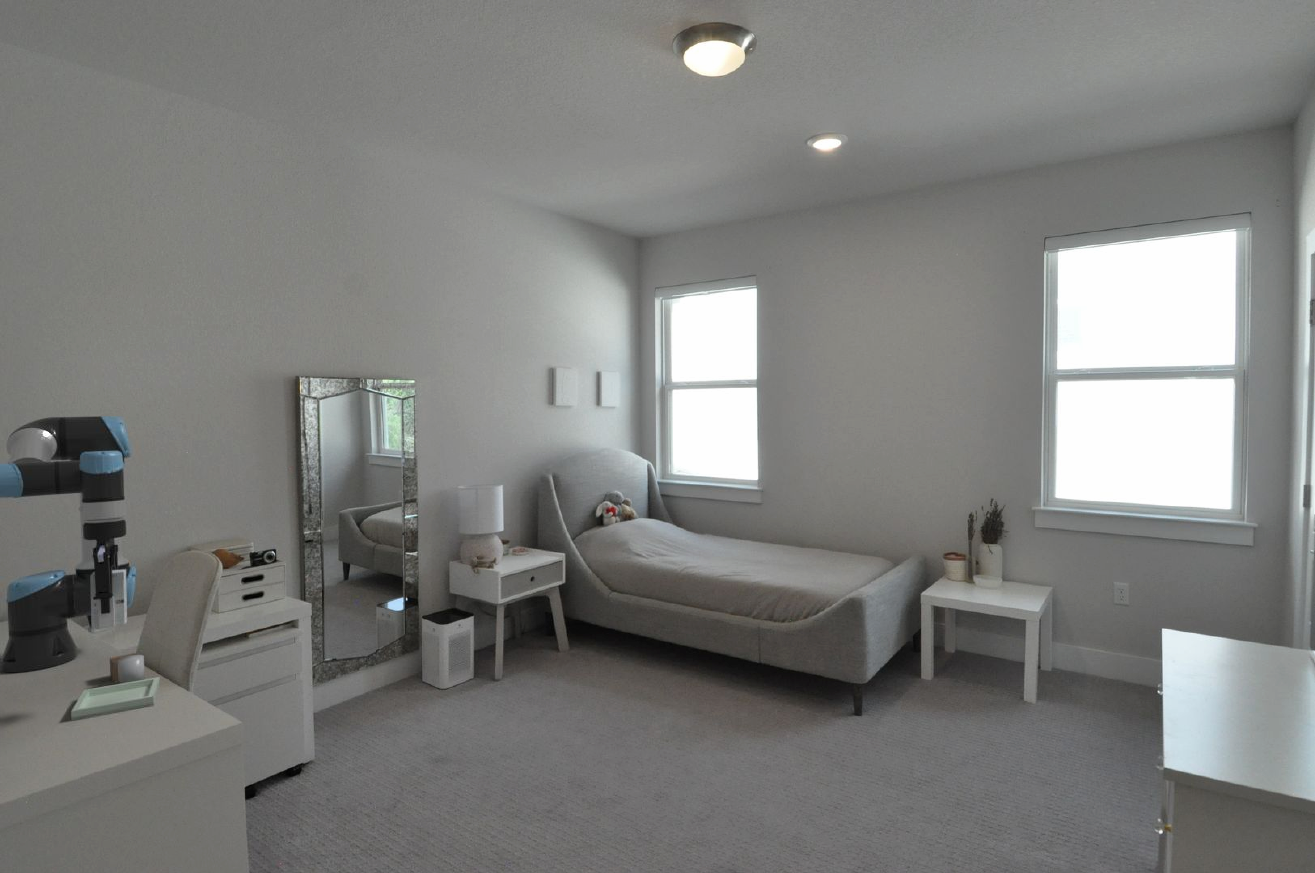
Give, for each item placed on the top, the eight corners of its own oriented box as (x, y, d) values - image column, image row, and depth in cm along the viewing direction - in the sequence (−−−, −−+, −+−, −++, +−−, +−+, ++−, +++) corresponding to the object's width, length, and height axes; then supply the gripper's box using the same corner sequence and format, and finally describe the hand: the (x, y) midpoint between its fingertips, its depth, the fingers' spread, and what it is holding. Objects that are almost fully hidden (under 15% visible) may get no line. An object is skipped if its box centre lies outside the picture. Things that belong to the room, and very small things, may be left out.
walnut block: (110, 677, 172) (109, 657, 172) (135, 672, 176) (134, 652, 175) (114, 682, 169) (113, 662, 168) (139, 677, 172) (138, 656, 172)
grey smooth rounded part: (120, 681, 169) (119, 657, 169) (145, 677, 171) (144, 653, 171) (117, 688, 164) (116, 663, 164) (143, 683, 167) (142, 659, 167)
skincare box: (91, 630, 152) (88, 575, 152) (94, 625, 156) (91, 571, 156) (126, 625, 156) (123, 571, 155) (128, 620, 159) (126, 567, 159)
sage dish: (84, 698, 159) (84, 689, 159) (159, 685, 166) (159, 676, 166) (71, 720, 147) (71, 711, 147) (153, 705, 154) (153, 696, 154)
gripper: (90, 518, 161) (95, 619, 161) (74, 526, 146) (79, 637, 146) (131, 515, 165) (135, 613, 165) (118, 522, 150) (123, 631, 150)
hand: (109, 624), depth 156 cm, fingers closed on skincare box, 4 cm apart
